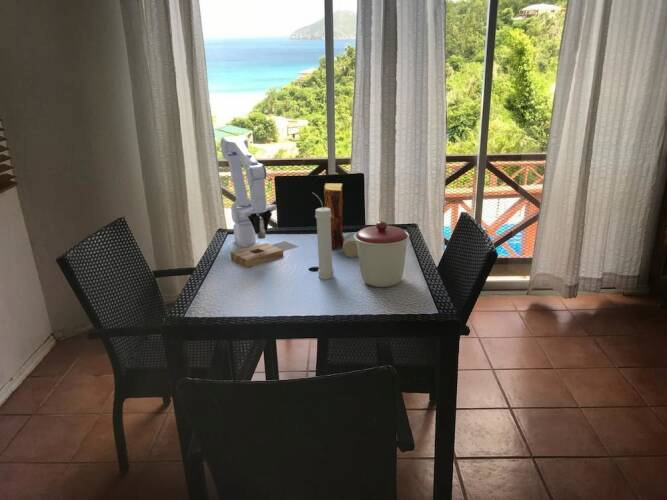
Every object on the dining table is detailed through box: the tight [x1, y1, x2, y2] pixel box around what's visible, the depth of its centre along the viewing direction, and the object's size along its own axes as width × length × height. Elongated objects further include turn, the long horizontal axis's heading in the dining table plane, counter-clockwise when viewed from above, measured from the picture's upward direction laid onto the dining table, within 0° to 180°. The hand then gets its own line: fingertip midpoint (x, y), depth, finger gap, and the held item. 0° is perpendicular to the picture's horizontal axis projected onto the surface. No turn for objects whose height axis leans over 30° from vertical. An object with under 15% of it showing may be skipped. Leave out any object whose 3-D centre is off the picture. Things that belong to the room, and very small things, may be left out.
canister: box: [354, 220, 410, 288], centre depth 183 cm, size 18×18×21 cm
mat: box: [271, 240, 300, 252], centre depth 224 cm, size 10×10×1 cm
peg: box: [256, 215, 266, 240], centre depth 212 cm, size 3×3×8 cm
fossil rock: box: [323, 182, 345, 250], centre depth 223 cm, size 24×8×24 cm, turn 176°
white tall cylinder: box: [312, 192, 335, 280], centre depth 188 cm, size 6×6×30 cm
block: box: [230, 242, 284, 269], centre depth 212 cm, size 12×16×3 cm
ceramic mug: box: [342, 232, 358, 259], centre depth 211 cm, size 11×8×8 cm
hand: (261, 231), depth 212 cm, fingers closed on peg, 3 cm apart
